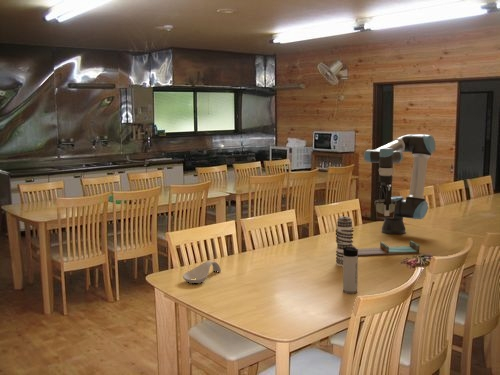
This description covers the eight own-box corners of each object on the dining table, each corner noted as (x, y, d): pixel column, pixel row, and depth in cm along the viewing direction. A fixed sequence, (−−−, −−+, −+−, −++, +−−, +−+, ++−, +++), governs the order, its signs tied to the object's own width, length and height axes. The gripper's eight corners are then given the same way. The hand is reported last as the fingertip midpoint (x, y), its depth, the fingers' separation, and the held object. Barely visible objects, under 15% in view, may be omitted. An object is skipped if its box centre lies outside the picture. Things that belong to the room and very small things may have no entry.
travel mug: (340, 289, 225) (340, 245, 222) (355, 288, 225) (355, 245, 223) (344, 294, 219) (344, 249, 216) (359, 293, 219) (359, 249, 216)
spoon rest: (198, 288, 231) (197, 273, 230) (178, 284, 237) (177, 269, 236) (226, 273, 251) (226, 260, 250) (207, 270, 257) (206, 256, 256)
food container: (394, 216, 294) (395, 199, 293) (396, 218, 288) (396, 201, 287) (372, 215, 296) (373, 199, 294) (374, 217, 290) (374, 200, 288)
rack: (350, 250, 288) (350, 242, 287) (410, 248, 291) (410, 240, 290) (356, 256, 276) (357, 248, 275) (419, 253, 279) (419, 245, 279)
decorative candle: (356, 263, 263) (357, 216, 259) (347, 268, 256) (347, 219, 252) (341, 260, 269) (342, 214, 265) (332, 264, 262) (332, 217, 258)
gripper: (374, 173, 298) (373, 211, 301) (384, 177, 279) (383, 217, 282) (386, 173, 298) (385, 211, 301) (398, 176, 279) (396, 217, 282)
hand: (384, 214), depth 292 cm, fingers closed on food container, 6 cm apart
